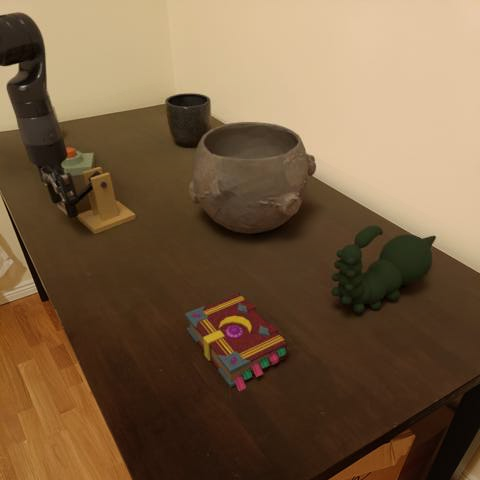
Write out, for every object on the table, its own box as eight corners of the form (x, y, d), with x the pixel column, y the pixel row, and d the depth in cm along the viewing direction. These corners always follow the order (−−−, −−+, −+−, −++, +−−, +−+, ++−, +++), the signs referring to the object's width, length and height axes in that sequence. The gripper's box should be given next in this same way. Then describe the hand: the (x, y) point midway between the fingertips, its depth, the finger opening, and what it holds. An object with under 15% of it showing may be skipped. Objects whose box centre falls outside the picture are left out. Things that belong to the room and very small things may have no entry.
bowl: (172, 242, 97) (160, 156, 84) (219, 187, 117) (216, 109, 103) (287, 267, 91) (295, 177, 77) (317, 204, 110) (328, 123, 96)
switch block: (49, 177, 121) (45, 163, 119) (54, 162, 128) (50, 149, 126) (93, 174, 123) (89, 160, 120) (95, 159, 130) (92, 146, 127)
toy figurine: (352, 337, 78) (444, 280, 86) (366, 255, 64) (474, 197, 73) (318, 308, 84) (407, 258, 92) (324, 227, 70) (429, 176, 78)
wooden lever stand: (94, 234, 100) (82, 187, 92) (78, 219, 105) (64, 173, 97) (136, 218, 105) (127, 172, 97) (118, 204, 110) (108, 159, 102)
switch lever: (71, 219, 96) (64, 212, 94) (61, 211, 99) (54, 204, 97) (110, 183, 98) (104, 176, 96) (100, 176, 101) (94, 168, 99)
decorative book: (240, 309, 81) (240, 289, 78) (291, 364, 71) (294, 344, 68) (186, 332, 77) (184, 311, 73) (233, 394, 67) (233, 374, 63)
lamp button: (62, 159, 122) (60, 153, 120) (64, 154, 124) (62, 147, 123) (75, 158, 122) (74, 152, 121) (76, 153, 125) (75, 147, 123)
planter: (188, 131, 147) (185, 90, 138) (221, 140, 141) (219, 98, 132) (160, 144, 138) (155, 101, 129) (193, 154, 132) (190, 110, 124)
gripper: (10, 130, 88) (37, 203, 99) (37, 152, 80) (62, 227, 91) (46, 122, 91) (68, 192, 102) (75, 141, 83) (95, 216, 94)
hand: (65, 209), depth 97 cm, fingers open, 8 cm apart
